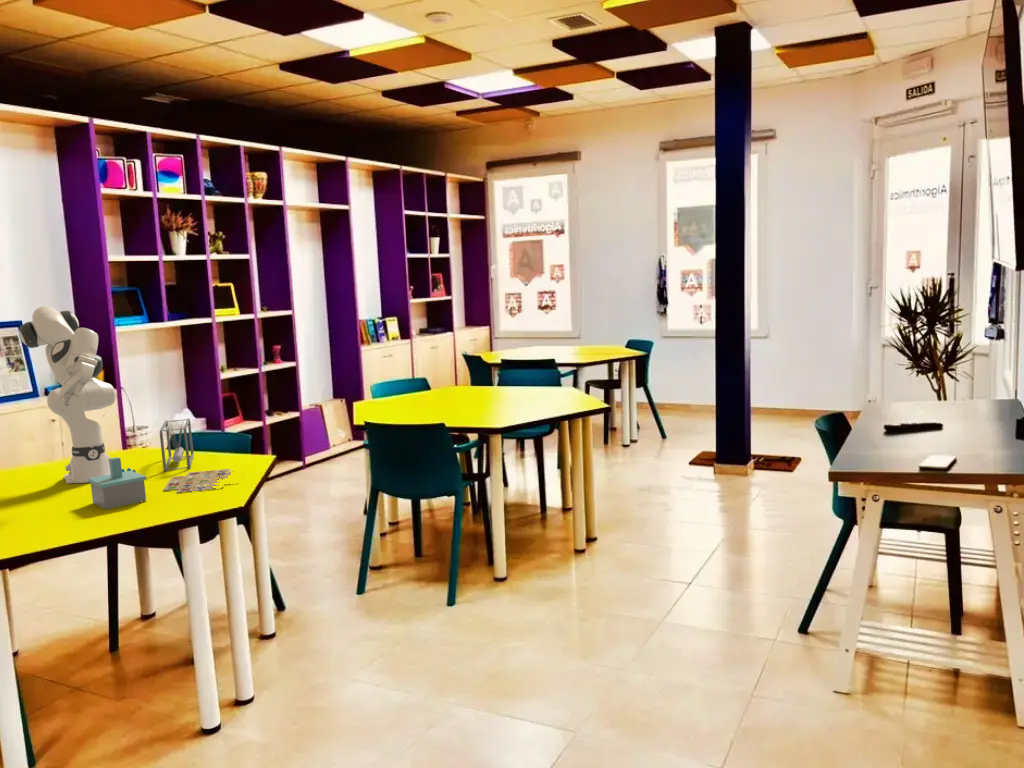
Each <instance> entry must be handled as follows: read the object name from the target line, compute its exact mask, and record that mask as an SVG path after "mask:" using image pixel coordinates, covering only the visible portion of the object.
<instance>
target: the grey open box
mask: <svg viewBox="0 0 1024 768" xmlns="http://www.w3.org/2000/svg"><path fill="white" fill-rule="evenodd" d="M90 491H91V496H92V503H93V504H94V505H95V504H96V505H95V506H97V505H98V506H97V507H99V506H100V508H101V507H102V508H101V509H103V510H104V509H108V510H111V509H110V508H112V509H115V508H114V507H117V508H120V507H119V506H122V507H125V506H124V505H126V506H129V505H128V504H131V505H134V504H133V503H136V504H138V503H137V502H141V501H145V500H146V501H147V496H146V486H145V480H141V481H136V482H131V483H126V484H121V485H116V486H110V487H105V488H100V487H98V486H96V485H94V484H92V483H90ZM146 501H145V502H146ZM141 503H142V502H141Z"/></svg>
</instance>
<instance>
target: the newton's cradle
mask: <svg viewBox="0 0 1024 768" xmlns="http://www.w3.org/2000/svg"><path fill="white" fill-rule="evenodd" d="M184 422H185V425H184ZM171 423H173V424H176V425H173V424H171ZM177 425H180V426H177ZM183 425H184V428H183ZM191 426H192V425H191V419H190V418H187V419H175V420H167V419H166V420H164V422H163V424H162V426H161V428H160V429H159V441H160V450H161V458H162V469H163V472H168V471H171V470H180V469H189V470H190V469H191V468H192V464H193V460H194V457H195V456H194V455H195V454H194V446H193V436H192V427H191ZM187 428H188V430H187ZM174 431H179V436H178V442H177V438H176V435H175V432H174ZM182 431H183V432H182ZM163 432H166V441H167V442H166V443H167V452H168V453H167V454H168V459H167V461H166V454H165V453H166V452H165V444H164V443H165V442H164V434H163ZM182 433H183V436H184V437H183V439H184V446H185V448H183V447H182V446H181V441H182ZM188 438H189V440H188ZM171 444H172V446H173V450H174V452H173V455H172V447H171ZM189 449H190V450H189ZM189 452H190V453H189ZM184 453H185V455H184ZM183 458H186V459H185V460H186V465H187V466H186V467H185V466H184V467H176V468H175V467H174V468H168V467H170V466H169V465H170V463H171V461H173V462H174V463H180V462H181V461H182V460H183Z"/></svg>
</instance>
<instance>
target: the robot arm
mask: <svg viewBox="0 0 1024 768" xmlns="http://www.w3.org/2000/svg"><path fill="white" fill-rule="evenodd" d="M31 319H32V320H31V321H27V322H25V323H23V324H22V325H20V327H19V329H18V330H19V333H18V335H19V338H20V340H21V342H22V343H23V344H24V345H25V346H26V347H28V348H29V349H33V348H39V347H40V346H41V347H42V346H45V345H46V346H45V351H44V352H45V355H46V359H47V363H48V365H49V367H50V369H51V371H52V374H53V375H54V378H55V379H56V381H57V382H58V384H60V385H61V387H57V388H56V389H52V390H51V391H50V392H49V393H48V396H47V397H46V399H47V400H46V401H47V402H46V403H47V406H48V408H49V409H50V411H51V412H52V413H54V414H56V415H58V416H59V417H61V418H62V419H63V420H64V421H65V423H66V424H67V427H68V428H69V432H70V437H71V443H72V447H71V456H72V457H71V459H70V461H69V463H68V464H67V465H64V466H65V472H68V473H67V474H64V476H63V477H64V480H65V483H66V484H81V483H82V484H83V483H84V484H85V483H90V482H89V481H88V478H94V477H99V476H104V475H110V474H111V473H110V464H109V459H110V458H111V456H110V455H109V454H107V453H106V446H105V443H104V442H103V441H104V440H103V433H102V426H101V425H100V423H99V422H97V421H96V420H94V419H90V418H88V417H87V416H86V414H85V412H89V411H95V410H103V409H105V408H109V407H110V406H113V405H114V404H115V401H116V398H117V392H116V389H115V388H114V386H113V385H112V384H111V383H108V382H105V381H102V380H100V379H99V378H96V377H98V376H99V375H100V374H101V372H102V371H103V367H104V365H103V359H102V357H101V356H100V355H98V354H97V353H98V352H97V351H98V346H99V335H98V334H99V333H97V332H95V331H94V330H93V329H91V328H87V327H80V323H79V322H80V321H79V320H78V318H77V316H76V315H75V314H74V313H73V312H72V311H70V310H61V311H60V312H59V310H57V309H55V308H54V307H52V306H50V305H42V306H39V307H38V308H36V309H35V310H34V311H33V313H32V318H31Z"/></svg>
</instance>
